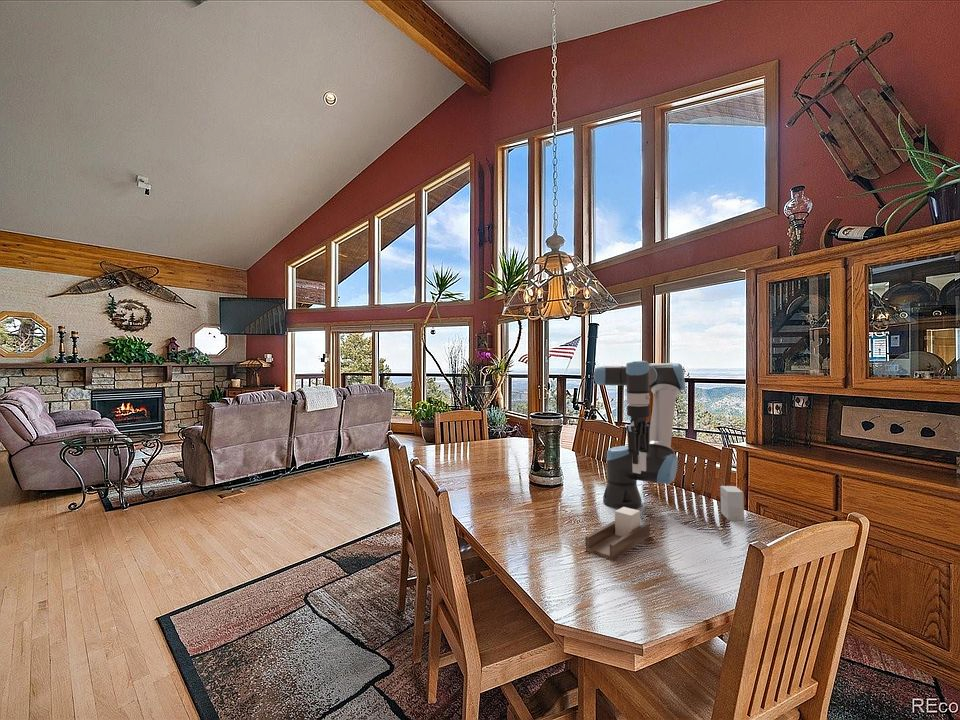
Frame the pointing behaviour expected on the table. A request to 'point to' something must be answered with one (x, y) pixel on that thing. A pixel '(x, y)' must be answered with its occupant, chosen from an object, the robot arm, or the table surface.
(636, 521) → the block
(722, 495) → the small box
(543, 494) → the table surface
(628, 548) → the chute
